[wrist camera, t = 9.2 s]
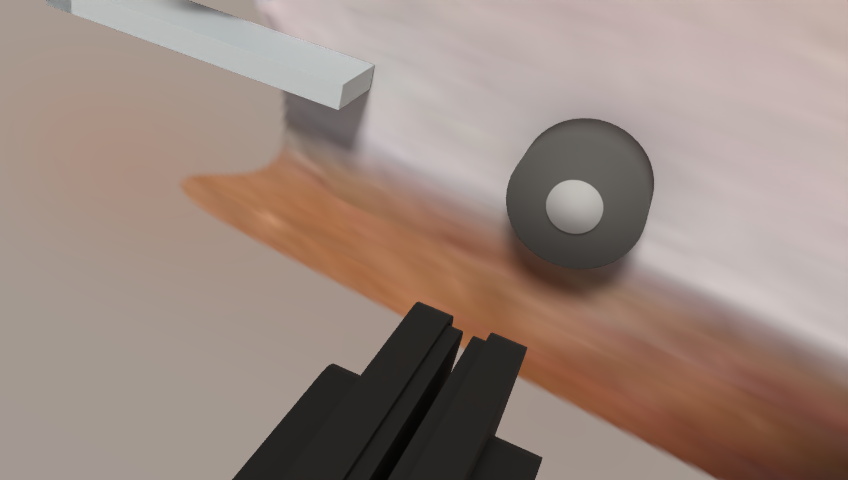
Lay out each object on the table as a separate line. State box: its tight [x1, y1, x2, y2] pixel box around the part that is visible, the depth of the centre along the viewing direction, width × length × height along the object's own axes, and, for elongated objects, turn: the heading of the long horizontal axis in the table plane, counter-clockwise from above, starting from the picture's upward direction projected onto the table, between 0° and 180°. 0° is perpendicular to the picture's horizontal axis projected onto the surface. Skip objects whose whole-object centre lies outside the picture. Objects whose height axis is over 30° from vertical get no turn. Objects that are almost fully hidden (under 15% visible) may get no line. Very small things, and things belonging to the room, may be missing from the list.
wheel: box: [506, 118, 654, 269], centre depth 36 cm, size 6×6×3 cm
